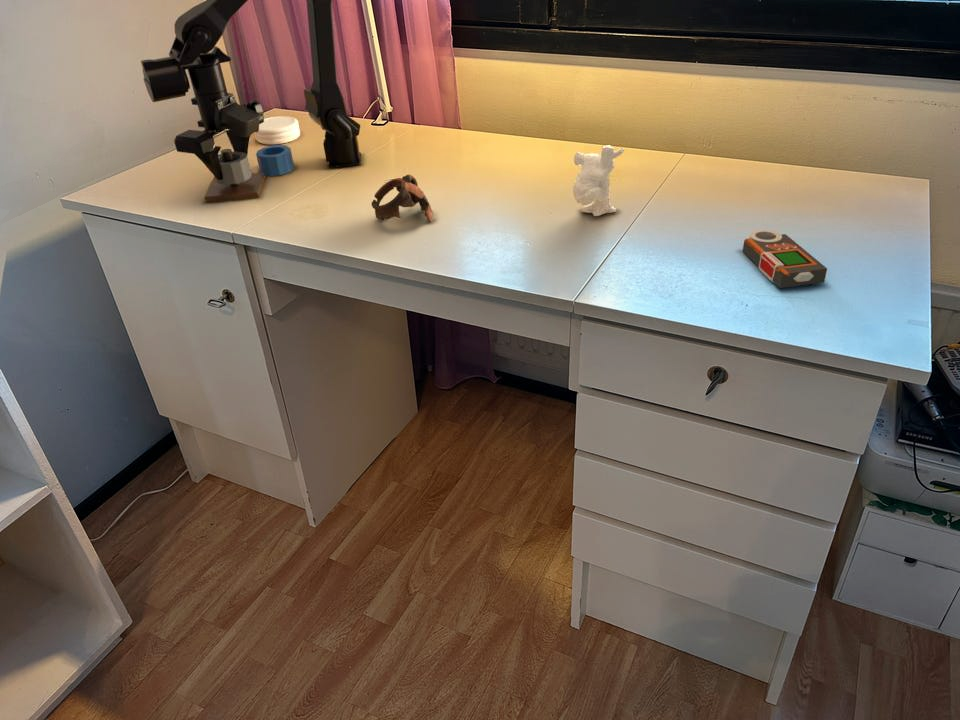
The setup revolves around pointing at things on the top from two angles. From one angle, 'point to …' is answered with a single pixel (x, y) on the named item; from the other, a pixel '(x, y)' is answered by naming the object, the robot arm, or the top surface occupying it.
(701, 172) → the top surface
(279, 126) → the coaster
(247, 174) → the grey thick polygonal ring
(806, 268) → the electronic device
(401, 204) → the brown looped band
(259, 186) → the tape stand
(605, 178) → the koala figurine
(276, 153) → the blue ring
